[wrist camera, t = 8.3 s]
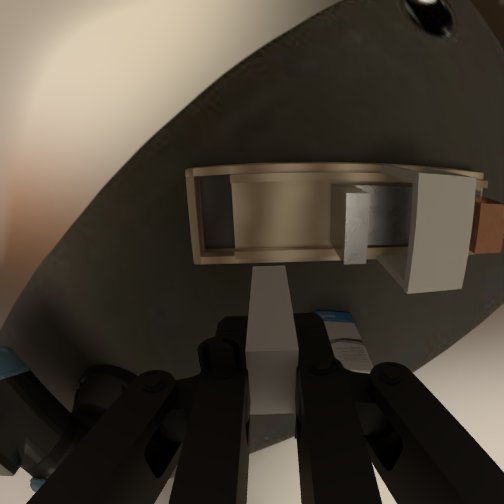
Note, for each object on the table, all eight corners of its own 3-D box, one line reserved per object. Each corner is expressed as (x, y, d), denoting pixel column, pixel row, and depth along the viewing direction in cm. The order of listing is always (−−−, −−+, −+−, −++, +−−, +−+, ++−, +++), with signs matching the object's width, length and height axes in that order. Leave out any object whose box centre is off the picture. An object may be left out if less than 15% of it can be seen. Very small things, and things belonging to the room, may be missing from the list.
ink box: (314, 308, 38) (330, 370, 26) (351, 312, 38) (378, 371, 26) (300, 362, 40) (309, 427, 29) (335, 364, 40) (352, 427, 29)
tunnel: (376, 258, 32) (407, 293, 24) (380, 164, 29) (418, 172, 21) (423, 256, 32) (461, 288, 24) (430, 167, 28) (476, 177, 20)
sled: (330, 243, 31) (343, 264, 26) (331, 184, 29) (346, 193, 24) (470, 239, 30) (499, 257, 25) (476, 189, 28) (507, 199, 23)
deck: (199, 255, 36) (192, 268, 32) (191, 167, 33) (182, 169, 29) (462, 246, 34) (479, 257, 30) (469, 170, 31) (488, 174, 27)
